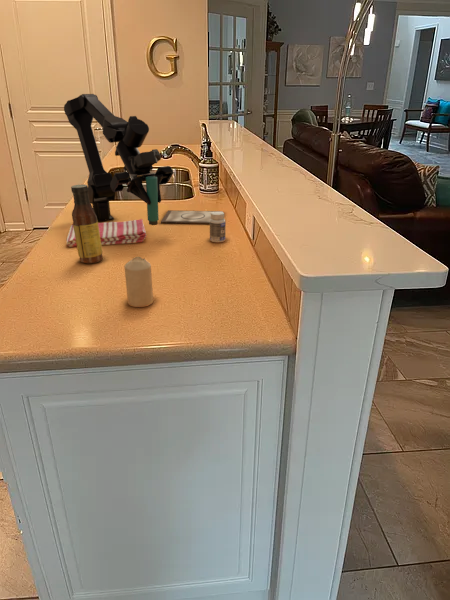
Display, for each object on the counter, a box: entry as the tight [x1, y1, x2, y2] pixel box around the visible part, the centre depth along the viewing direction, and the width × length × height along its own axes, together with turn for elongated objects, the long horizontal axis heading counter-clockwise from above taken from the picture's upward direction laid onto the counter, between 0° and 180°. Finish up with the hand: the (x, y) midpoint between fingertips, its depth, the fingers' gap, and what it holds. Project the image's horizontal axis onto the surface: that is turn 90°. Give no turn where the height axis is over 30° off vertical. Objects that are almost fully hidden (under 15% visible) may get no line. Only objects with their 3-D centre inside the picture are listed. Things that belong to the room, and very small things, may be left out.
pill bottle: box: [209, 210, 227, 243], centre depth 140 cm, size 5×5×8 cm
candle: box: [124, 256, 154, 308], centre depth 101 cm, size 6×6×10 cm
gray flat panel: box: [160, 209, 224, 225], centre depth 164 cm, size 20×15×1 cm
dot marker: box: [145, 176, 160, 226], centre depth 136 cm, size 3×3×14 cm
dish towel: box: [65, 218, 148, 248], centre depth 145 cm, size 17×23×4 cm
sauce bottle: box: [70, 183, 103, 264], centre depth 122 cm, size 6×6×20 cm
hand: (155, 202), depth 135 cm, fingers closed on dot marker, 3 cm apart
